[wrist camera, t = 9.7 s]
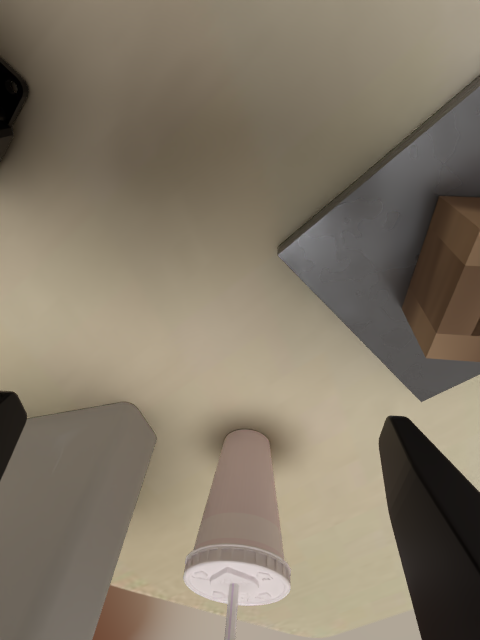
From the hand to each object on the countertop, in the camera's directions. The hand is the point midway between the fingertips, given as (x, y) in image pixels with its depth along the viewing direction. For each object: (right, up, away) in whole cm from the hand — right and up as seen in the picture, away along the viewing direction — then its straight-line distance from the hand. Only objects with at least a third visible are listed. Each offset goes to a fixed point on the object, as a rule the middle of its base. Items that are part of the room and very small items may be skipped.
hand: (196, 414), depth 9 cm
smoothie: (+2, -8, +20) cm, 22 cm away
